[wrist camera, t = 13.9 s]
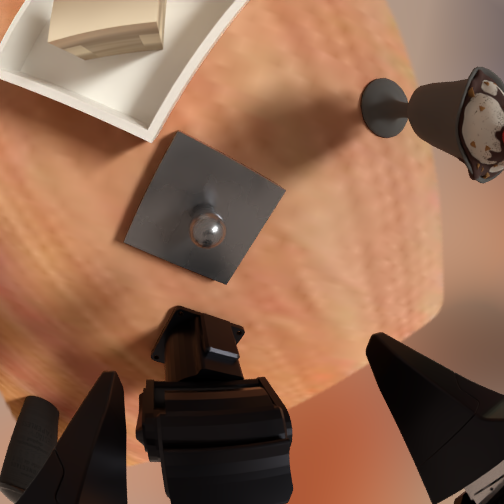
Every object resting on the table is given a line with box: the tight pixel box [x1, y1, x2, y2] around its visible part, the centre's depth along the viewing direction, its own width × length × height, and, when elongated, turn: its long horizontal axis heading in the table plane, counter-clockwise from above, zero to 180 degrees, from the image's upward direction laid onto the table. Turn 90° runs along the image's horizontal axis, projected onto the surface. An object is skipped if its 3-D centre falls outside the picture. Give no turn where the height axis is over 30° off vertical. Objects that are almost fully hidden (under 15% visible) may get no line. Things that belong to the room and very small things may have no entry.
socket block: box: [48, 0, 167, 60], centre depth 10 cm, size 5×5×6 cm
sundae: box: [361, 67, 504, 183], centre depth 13 cm, size 7×7×15 cm
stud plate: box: [124, 130, 286, 285], centre depth 18 cm, size 8×8×5 cm
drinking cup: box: [0, 396, 59, 504], centre depth 17 cm, size 8×8×20 cm
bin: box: [0, 0, 250, 143], centre depth 11 cm, size 12×12×4 cm
